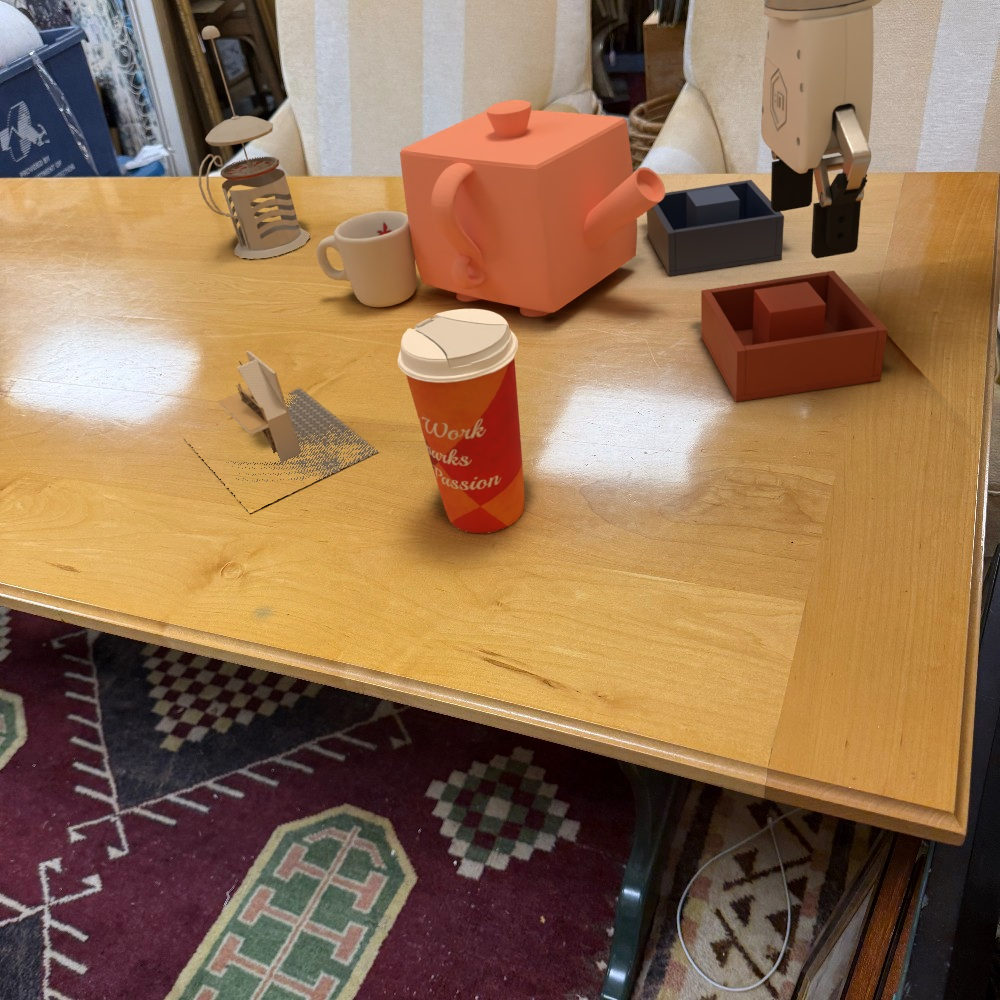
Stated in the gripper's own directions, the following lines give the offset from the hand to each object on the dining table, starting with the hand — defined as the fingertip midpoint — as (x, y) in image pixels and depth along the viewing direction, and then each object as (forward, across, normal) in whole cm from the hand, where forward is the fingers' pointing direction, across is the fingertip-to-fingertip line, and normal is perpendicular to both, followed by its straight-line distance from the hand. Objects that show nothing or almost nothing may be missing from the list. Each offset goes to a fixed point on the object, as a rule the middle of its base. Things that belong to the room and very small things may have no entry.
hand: (811, 229), depth 71 cm
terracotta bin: (+10, +1, -2) cm, 11 cm away
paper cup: (+10, +16, -28) cm, 34 cm away
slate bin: (+10, -24, -2) cm, 26 cm away
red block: (+10, +1, -2) cm, 10 cm away
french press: (+9, -45, -53) cm, 70 cm away
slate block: (+10, -24, -2) cm, 26 cm away
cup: (+10, -24, -38) cm, 46 cm away
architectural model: (+9, +3, -45) cm, 46 cm away
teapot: (+10, -19, -19) cm, 29 cm away
